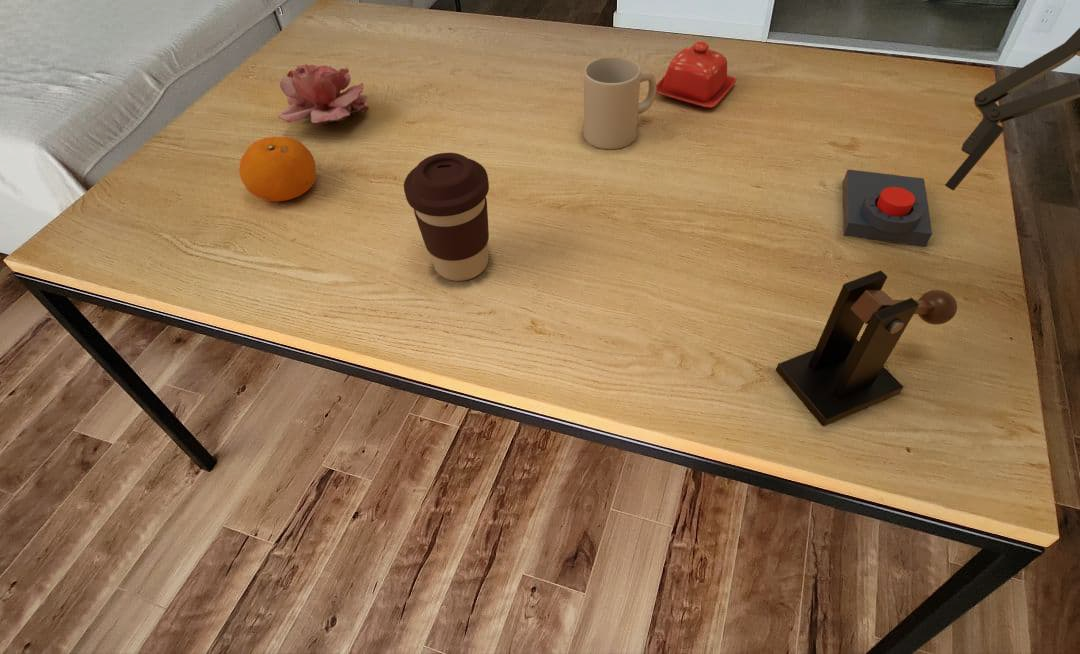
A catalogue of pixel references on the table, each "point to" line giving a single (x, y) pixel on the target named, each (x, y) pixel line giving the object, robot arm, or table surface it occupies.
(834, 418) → the bracket
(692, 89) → the butter dish
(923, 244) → the button block
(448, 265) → the coffee cup
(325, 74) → the flower
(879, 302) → the lever
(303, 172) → the fruit
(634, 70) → the mug
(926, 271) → the table surface
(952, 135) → the table surface
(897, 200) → the button
